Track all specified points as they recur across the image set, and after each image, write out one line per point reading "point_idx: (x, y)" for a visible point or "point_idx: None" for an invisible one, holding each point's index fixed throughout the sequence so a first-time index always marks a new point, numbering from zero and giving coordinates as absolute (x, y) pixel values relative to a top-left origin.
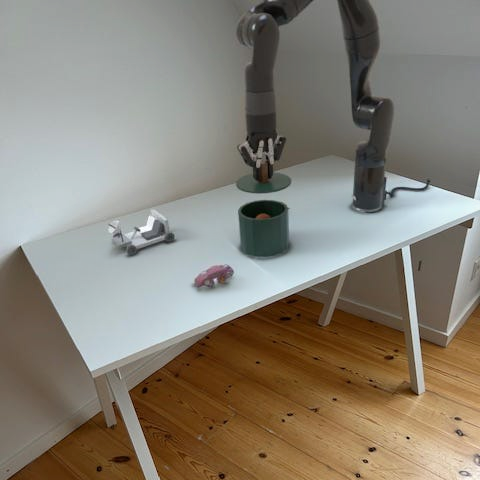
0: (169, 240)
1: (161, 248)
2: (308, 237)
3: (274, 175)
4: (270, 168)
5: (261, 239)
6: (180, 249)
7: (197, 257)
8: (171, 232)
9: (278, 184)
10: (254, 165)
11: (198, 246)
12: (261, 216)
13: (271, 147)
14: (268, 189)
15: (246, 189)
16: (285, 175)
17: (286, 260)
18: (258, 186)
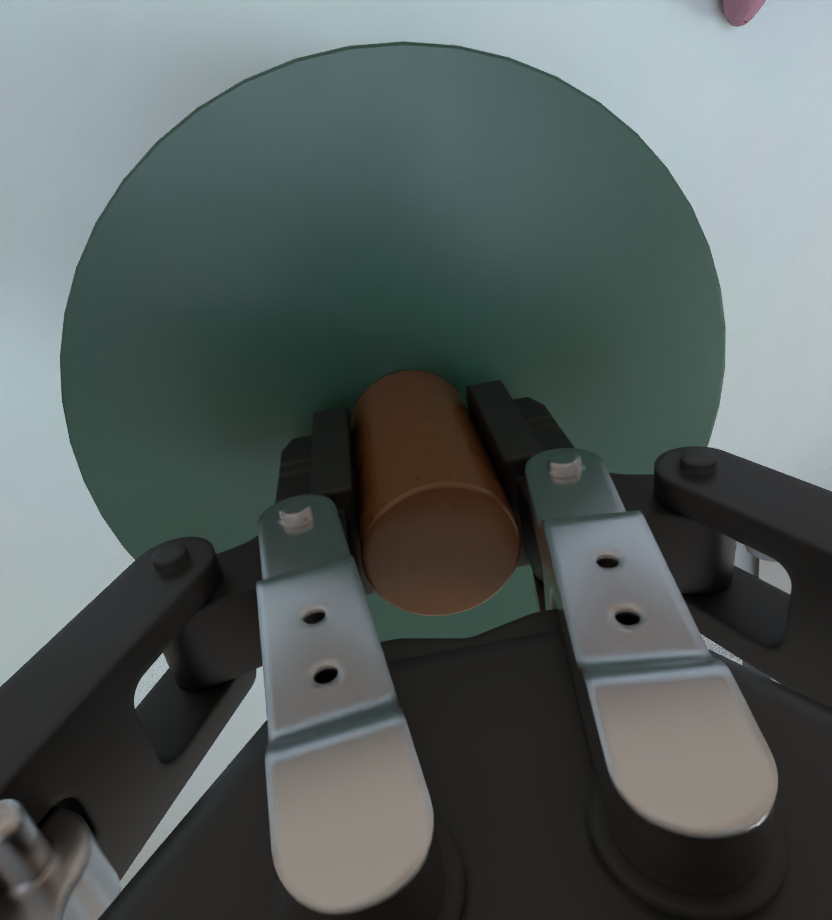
0: None
1: (823, 482)
2: (67, 253)
3: (226, 533)
4: (328, 468)
5: None
6: (761, 436)
7: (738, 317)
8: (769, 557)
9: (282, 232)
10: (618, 489)
11: None
12: None
13: (305, 681)
14: (475, 121)
15: (694, 278)
16: (99, 479)
17: (313, 6)
18: (533, 297)
